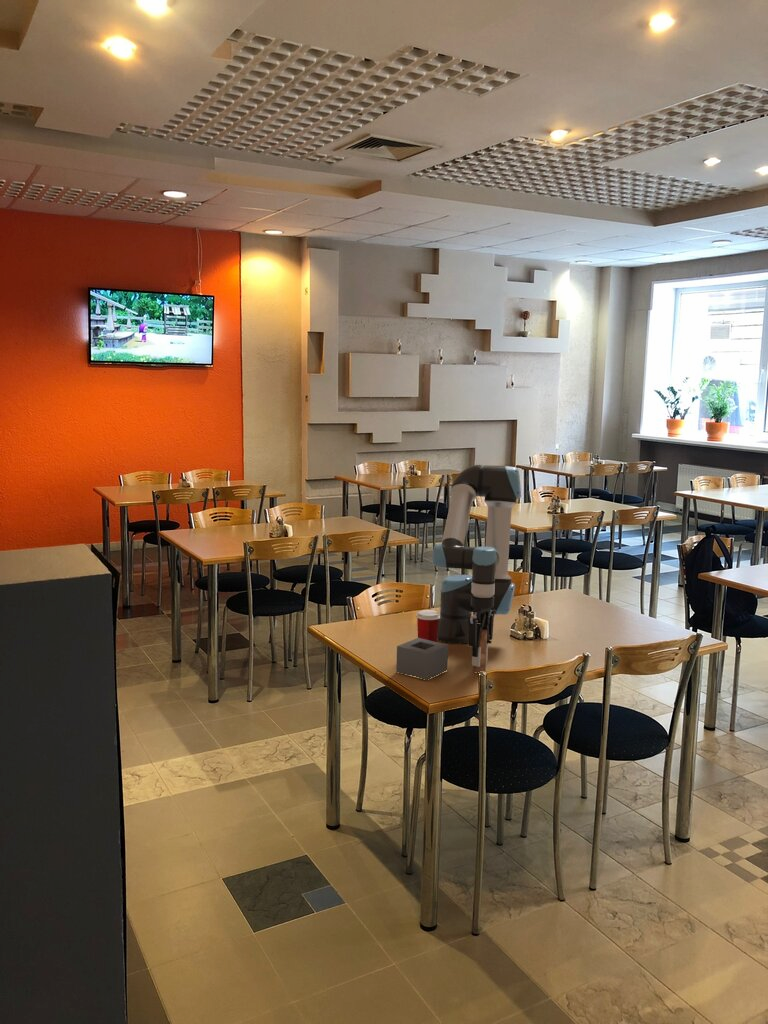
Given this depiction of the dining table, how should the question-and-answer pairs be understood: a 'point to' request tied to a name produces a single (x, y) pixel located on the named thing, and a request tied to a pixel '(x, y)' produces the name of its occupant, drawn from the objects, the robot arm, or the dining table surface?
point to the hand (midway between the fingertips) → (479, 663)
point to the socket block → (422, 658)
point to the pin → (482, 652)
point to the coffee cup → (428, 624)
